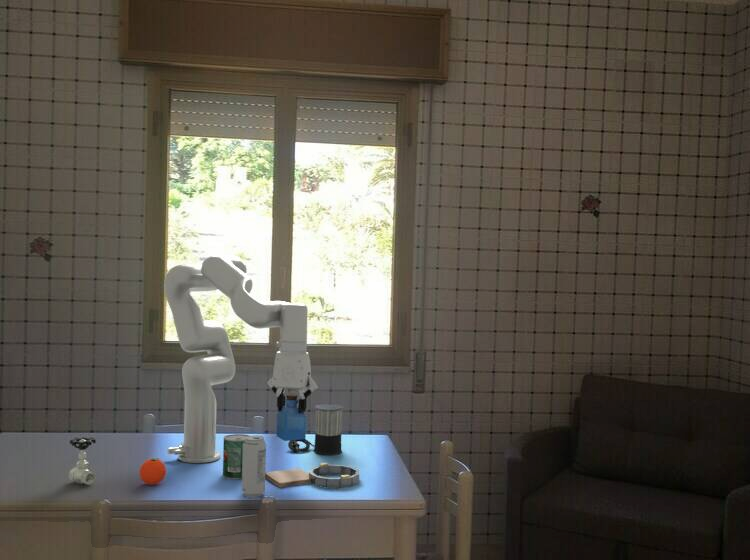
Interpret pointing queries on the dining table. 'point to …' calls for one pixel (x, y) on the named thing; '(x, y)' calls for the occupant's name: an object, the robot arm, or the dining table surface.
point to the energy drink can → (253, 466)
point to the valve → (82, 462)
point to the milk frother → (324, 431)
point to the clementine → (152, 471)
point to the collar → (346, 479)
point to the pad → (288, 477)
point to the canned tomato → (233, 456)
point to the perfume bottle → (291, 421)
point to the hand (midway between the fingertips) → (291, 410)
